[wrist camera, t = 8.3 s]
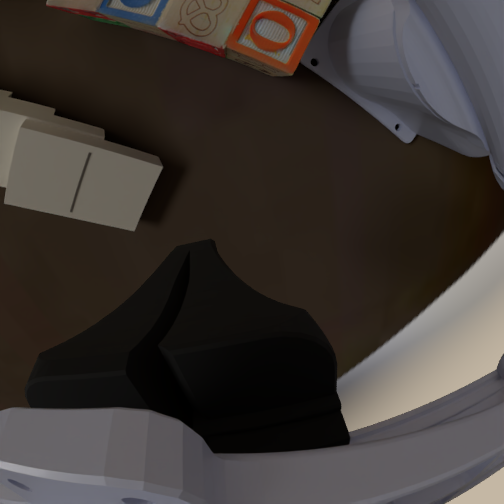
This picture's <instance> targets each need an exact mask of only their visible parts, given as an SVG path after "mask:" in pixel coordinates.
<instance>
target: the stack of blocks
mask: <svg viewBox="0 0 504 504" xmlns="http://www.w3.org/2000/svg"><path fill="white" fill-rule="evenodd" d="M331 1H332V0H47V4H46V5H47V6H49V7H52V8H55V9H59V10H62V11H65V12H69V13H73V14H77V15H80V16H83V17H86V18H88V19H91V20H95V21H100V22H105V23H110V24H115V25H120V26H124V27H129V28H134V29H137V30H140V31H144V32H148V33H151V34H155V35H158V36H162V37H165V38H168V39H172V40H175V41H179V42H181V43H184V44H187V45H189V46H192V47H195V48H199V49H201V50H204V51H207V52H210V53H213V54H215V55H218V56H220V57H223V58H228V59H231V60H234V61H236V62H239V63H241V64H244V65H246V66H249V67H251V68H254V69H256V70H258V71H261V72H263V73H265V74H268V75H270V76H281V77H282V76H292V75H293V73H294V72H295V70H296V68H297V66H298V64H299V62H300V60H301V58H302V56H303V54H304V52H305V50H306V48H307V46H308V45H309V43H310V41H311V39H312V37H313V35H314V33H315V31H316V29H317V27H318V25H319V23H320V19H321V18H322V17H323V15H324V13H325V12H326V10H327V8H328V6H329V4H330V2H331Z"/></svg>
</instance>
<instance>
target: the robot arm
mask: <svg viewBox="0 0 504 504" xmlns="http://www.w3.org/2000/svg"><path fill="white" fill-rule="evenodd" d="M313 58H314V59H316V60H317V65H316V66H312V65H311V59H313ZM300 63H301V64H303V65H304V66H306V67H307V68H309V69H310V70H312V71H313V72H315V73H316V74H318V75H319V76H320V77H322V78H323V79H325V80H326V81H328V82H329V83H330V84H332V85H333V86H335V87H336V88H337V89H339V90H340V91H341V92H343V93H344V94H345V95H347V96H348V97H349V98H351V99H352V100H353V101H355V102H356V103H357V104H358V105H360V106H361V107H362V108H363V109H365V110H366V111H367V112H368V113H370V114H371V115H372V116H373V117H375V118H376V119H377V120H378V121H379V122H381V123H382V124H383V125H384V126H385V127H386V128H388V129H389V130H390V131H391V132H392V133H393V134H395V135H396V136H397V137H398V138H399V139H400V140H401V141H403V142H405V143H410V142H411V141H412V140H413V139H414V137H415V136H416V134H418V135H420V136H423V137H425V138H427V139H430V140H432V141H434V142H437V143H439V144H441V145H443V146H446V147H448V148H450V149H452V150H454V151H456V152H458V153H461V154H463V155H466V156H469V157H483V156H488V155H489V158H490V162H491V166H492V170H493V173H494V176H495V178H496V180H497V182H498V183H499V185H500V186H501V188H502V189H503V190H504V0H339V1H338V2H337V3H336V5H335V6H334V7H333V9H332V10H331V11H330V13H329V14H328V15H327V17H326V18H325V19H324V21H323V22H322V23H321V25H320V26H319V27H318V29H317V30H316V31H315V33H314V35H313V37H312V39H311V41H310V43H309V45H308V46H307V48H306V50H305V52H304V54H303V56H302V58H301V60H300ZM396 124H398V125H399V128H398V130H395V126H396ZM336 385H337V361H336V356H335V353H334V351H333V348H332V346H331V344H330V343H329V341H328V339H327V338H326V336H325V335H324V333H323V331H322V330H321V329H320V327H319V326H318V325H317V323H316V322H315V321H314V319H313V318H312V317H311V316H310V315H309V313H308V312H307V311H306V310H304V309H301V308H298V307H294V306H290V305H287V304H283V303H280V302H277V301H275V300H273V299H270V298H268V297H266V296H264V295H262V294H260V293H259V292H257V291H255V290H254V289H252V288H251V287H250V286H248V285H247V284H246V283H244V282H243V281H242V280H241V279H240V278H238V277H237V276H236V275H235V274H234V273H233V272H232V271H231V269H230V268H229V267H228V266H227V265H226V264H225V262H224V261H223V260H222V258H221V257H220V255H219V254H218V252H217V248H216V244H215V241H213V240H212V239H208V240H203V241H199V242H194V243H189V244H185V245H180V246H177V247H176V248H175V249H174V250H173V251H172V252H171V253H170V254H169V255H168V257H167V258H166V259H165V260H164V261H163V262H162V264H161V265H160V266H159V267H158V268H157V269H156V271H155V272H154V273H153V274H152V275H151V276H150V277H149V278H148V279H147V280H146V282H145V283H144V284H143V285H142V286H141V287H140V288H139V289H138V290H137V291H136V292H135V293H134V294H133V295H132V296H131V297H130V298H128V299H127V300H126V301H125V302H124V303H123V304H121V305H120V306H119V307H118V308H117V309H115V310H114V311H113V312H111V313H110V314H109V315H107V316H106V317H104V318H103V319H102V320H100V321H99V322H98V323H96V324H95V325H93V326H91V327H90V328H88V329H87V330H85V331H83V332H82V333H80V334H78V335H76V336H75V337H73V338H71V339H69V340H67V341H65V342H63V343H61V344H59V345H57V346H55V347H53V348H51V349H49V350H47V351H44V352H42V353H40V354H39V356H38V358H37V361H36V363H35V365H34V368H33V370H32V372H31V375H30V377H29V380H28V382H27V384H26V387H25V397H26V399H27V401H28V403H29V405H30V407H31V408H22V407H15V408H10V409H6V410H2V411H0V504H445V503H447V502H449V501H451V500H452V499H454V498H456V497H458V496H459V495H461V494H463V493H464V492H466V491H468V490H469V489H471V488H473V487H474V486H475V485H477V484H479V483H480V482H482V481H484V480H485V479H486V478H488V477H490V476H491V475H492V474H494V473H495V472H497V471H498V470H500V469H501V468H502V467H504V354H503V356H502V357H501V359H500V361H499V364H498V366H497V369H496V370H495V371H493V372H491V373H489V374H487V375H486V376H484V377H482V378H480V379H478V380H476V381H474V382H472V383H471V384H469V385H467V386H465V387H463V388H461V389H459V390H457V391H455V392H452V393H450V394H448V395H446V396H444V397H442V398H440V399H437V400H435V401H433V402H430V403H428V404H426V405H423V406H421V407H419V408H416V409H414V410H411V411H409V412H406V413H404V414H401V415H398V416H396V417H393V418H390V419H388V420H385V421H382V422H379V423H377V424H373V425H371V426H367V427H364V428H361V429H358V430H355V431H352V432H348V429H347V426H346V424H345V421H344V418H343V415H342V413H341V402H340V399H339V397H338V394H337V391H336V387H337V386H336Z"/></svg>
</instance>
